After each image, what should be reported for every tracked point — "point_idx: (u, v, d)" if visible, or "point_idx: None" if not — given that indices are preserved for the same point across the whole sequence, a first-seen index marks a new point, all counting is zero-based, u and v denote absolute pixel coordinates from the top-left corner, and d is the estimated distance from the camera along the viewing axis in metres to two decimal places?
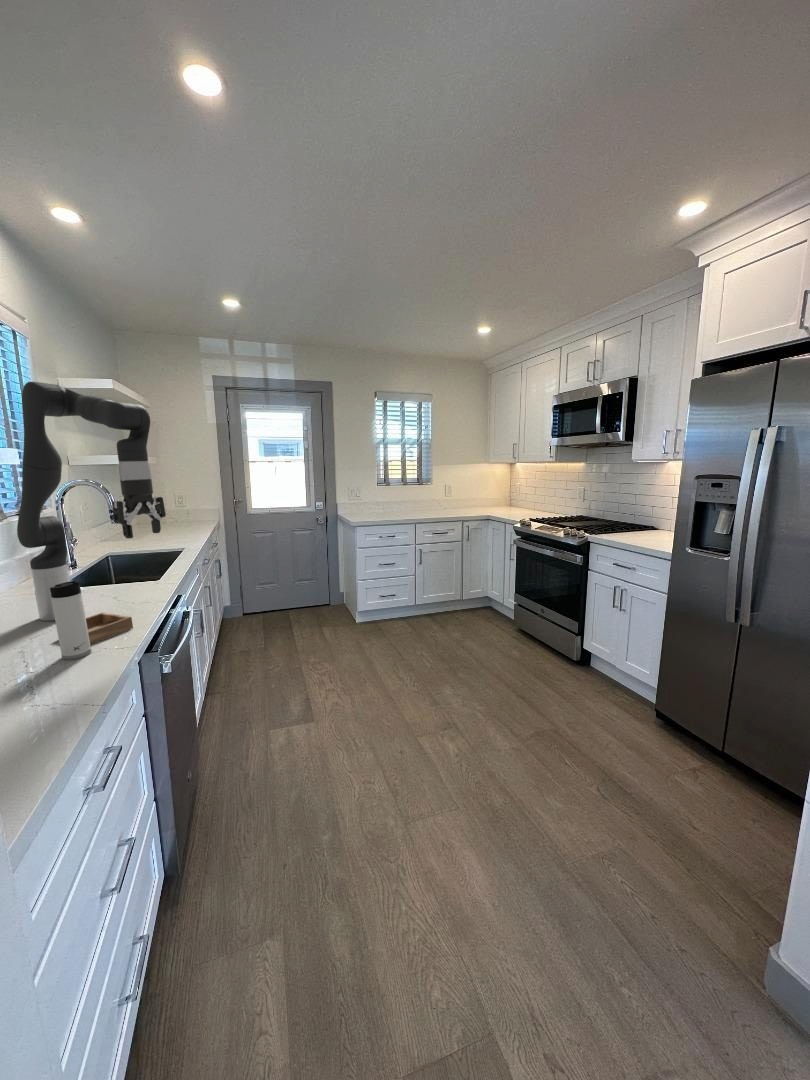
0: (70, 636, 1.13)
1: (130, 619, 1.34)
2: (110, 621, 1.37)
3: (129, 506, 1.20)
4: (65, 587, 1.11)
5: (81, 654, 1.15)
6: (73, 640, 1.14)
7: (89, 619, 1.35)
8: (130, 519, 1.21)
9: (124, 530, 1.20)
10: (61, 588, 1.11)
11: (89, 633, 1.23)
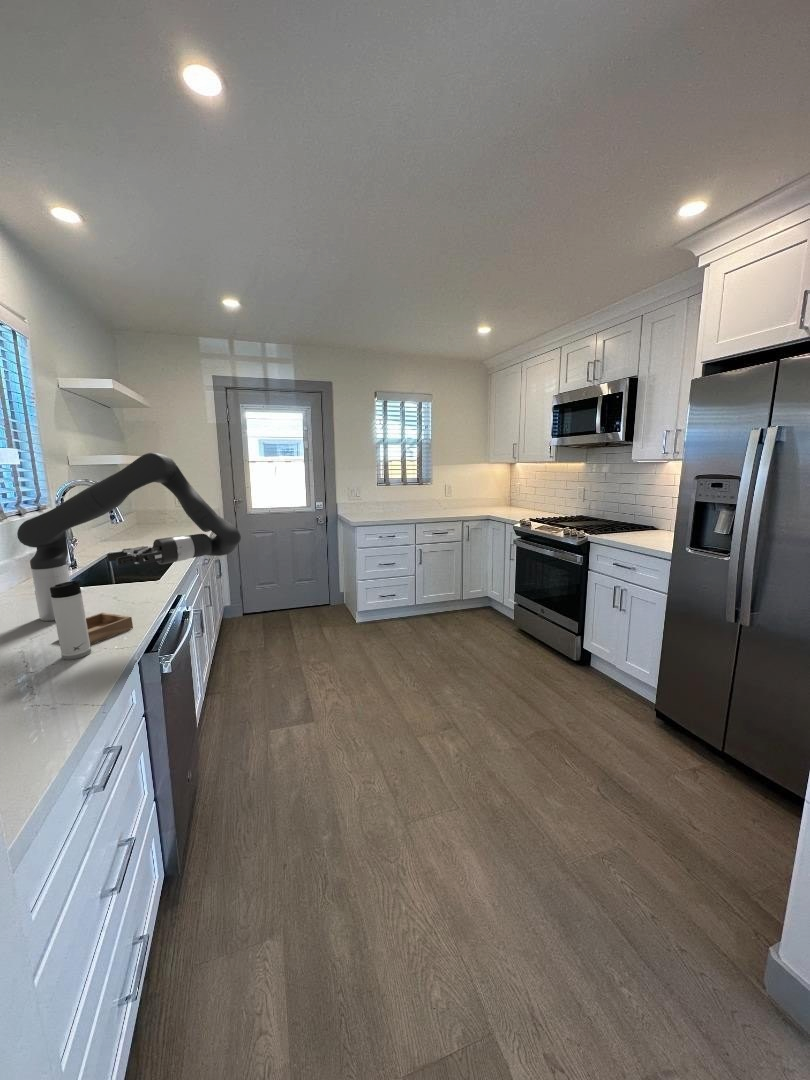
0: (70, 636, 1.13)
1: (130, 619, 1.34)
2: (110, 621, 1.37)
3: None
4: (65, 587, 1.11)
5: (81, 654, 1.15)
6: (73, 640, 1.14)
7: (89, 619, 1.35)
8: None
9: (128, 560, 1.19)
10: (61, 588, 1.11)
11: (89, 633, 1.23)
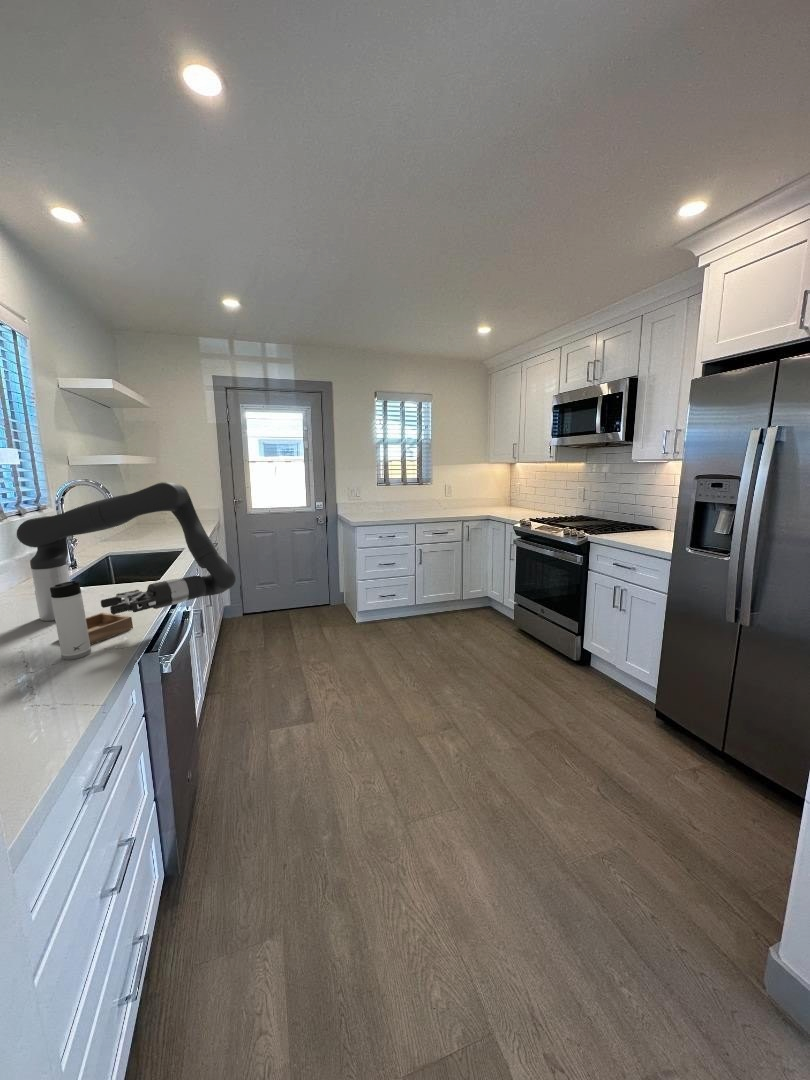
0: (70, 636, 1.13)
1: (130, 619, 1.34)
2: (110, 621, 1.37)
3: None
4: (65, 587, 1.11)
5: (81, 654, 1.15)
6: (73, 640, 1.14)
7: (89, 619, 1.35)
8: None
9: (121, 608, 1.19)
10: (61, 588, 1.11)
11: (89, 633, 1.23)
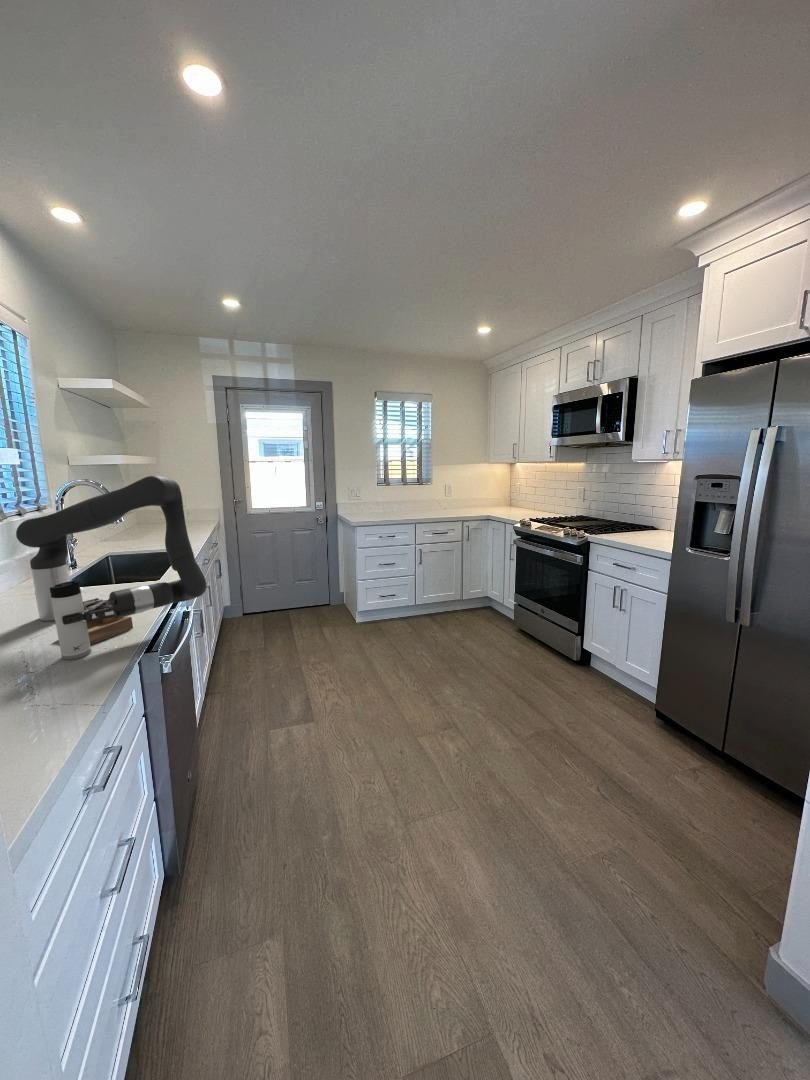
0: (70, 636, 1.13)
1: (130, 619, 1.34)
2: (110, 621, 1.37)
3: None
4: (65, 587, 1.11)
5: (81, 654, 1.15)
6: (73, 640, 1.14)
7: None
8: None
9: (74, 618, 1.12)
10: (61, 588, 1.11)
11: (89, 633, 1.23)
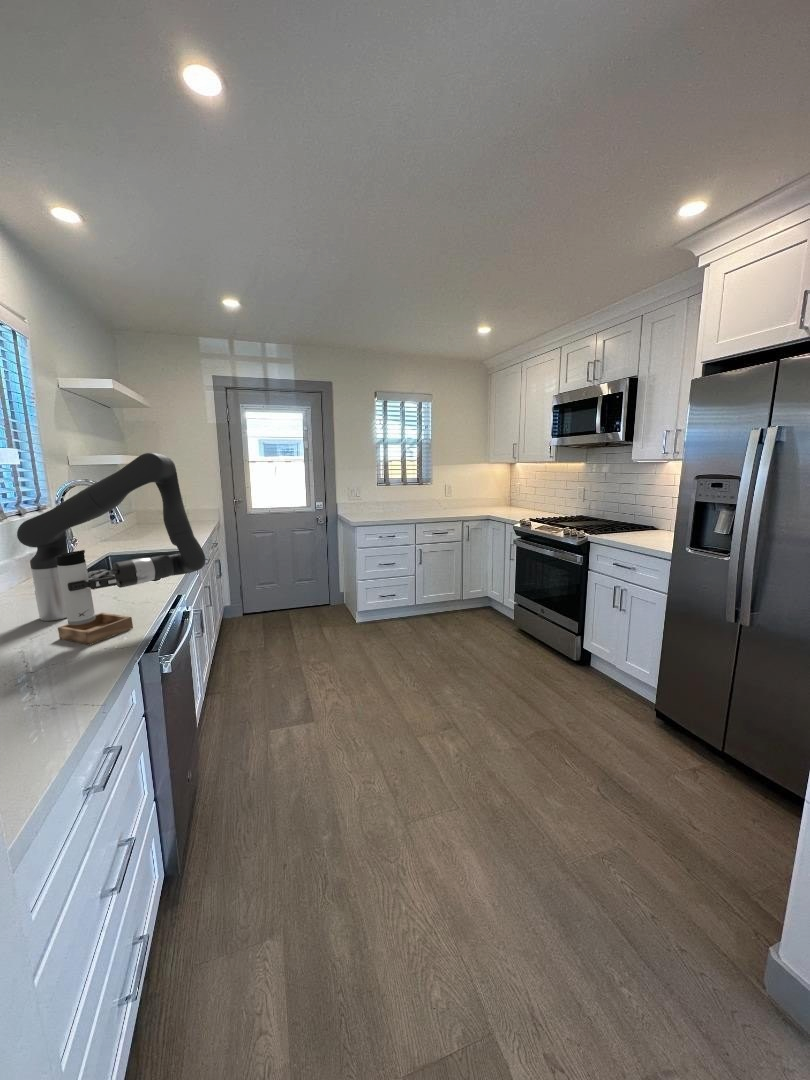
0: (76, 603, 1.19)
1: (130, 619, 1.34)
2: (110, 621, 1.37)
3: (107, 582, 1.24)
4: (70, 556, 1.17)
5: (86, 620, 1.21)
6: (78, 606, 1.20)
7: None
8: None
9: (79, 585, 1.18)
10: (66, 556, 1.17)
11: (89, 633, 1.23)
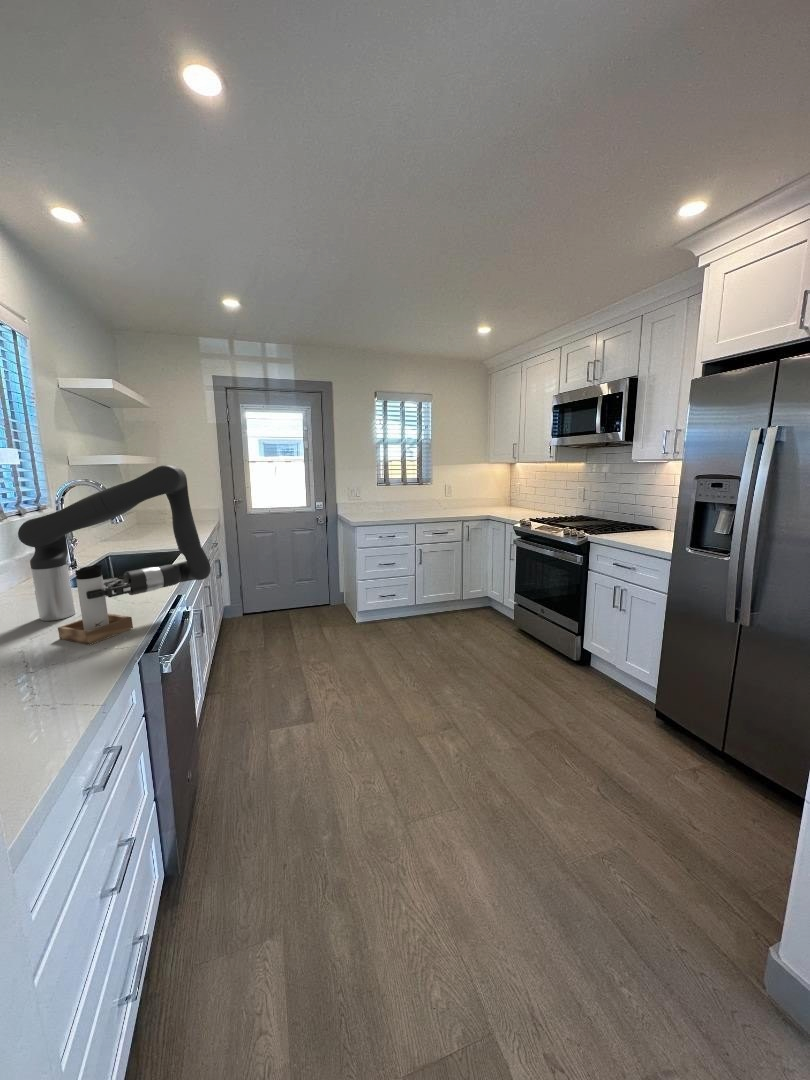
0: (92, 614, 1.28)
1: (130, 619, 1.34)
2: (110, 621, 1.37)
3: None
4: (89, 570, 1.26)
5: None
6: (95, 617, 1.28)
7: None
8: None
9: (97, 594, 1.26)
10: (85, 571, 1.26)
11: (89, 633, 1.23)
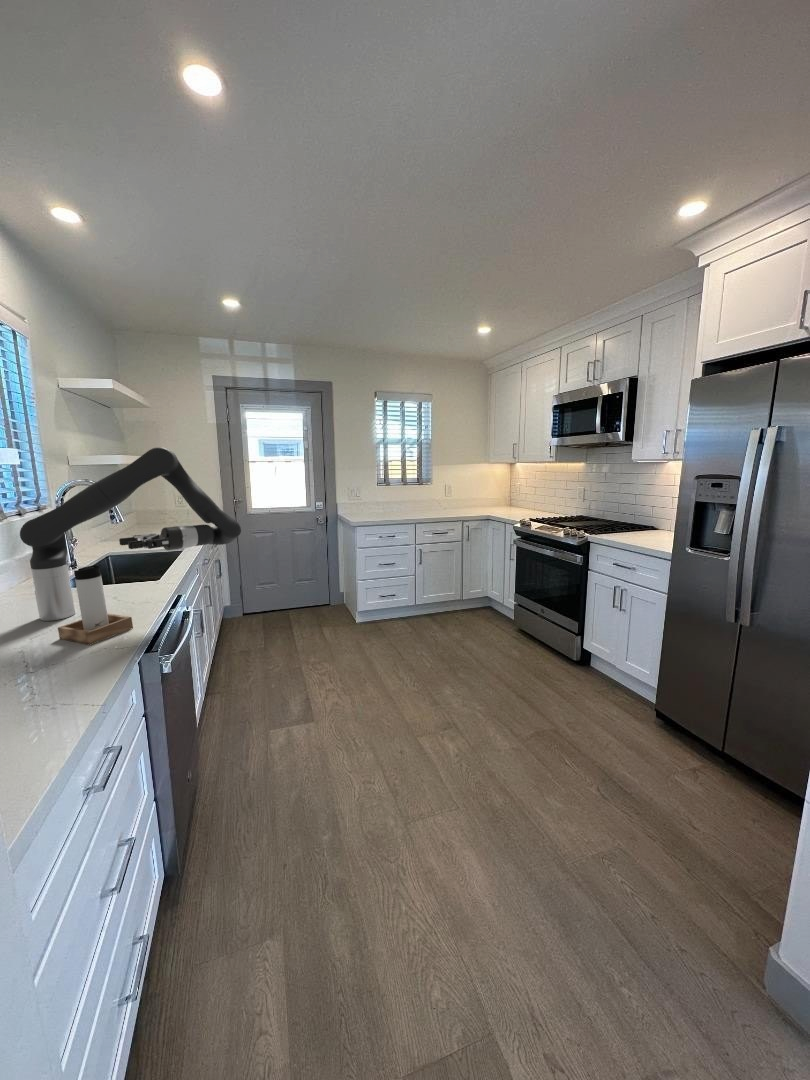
0: (92, 614, 1.28)
1: (130, 619, 1.34)
2: (110, 621, 1.37)
3: None
4: (88, 570, 1.26)
5: None
6: (94, 617, 1.28)
7: None
8: None
9: (138, 544, 1.33)
10: (84, 571, 1.25)
11: (89, 633, 1.23)
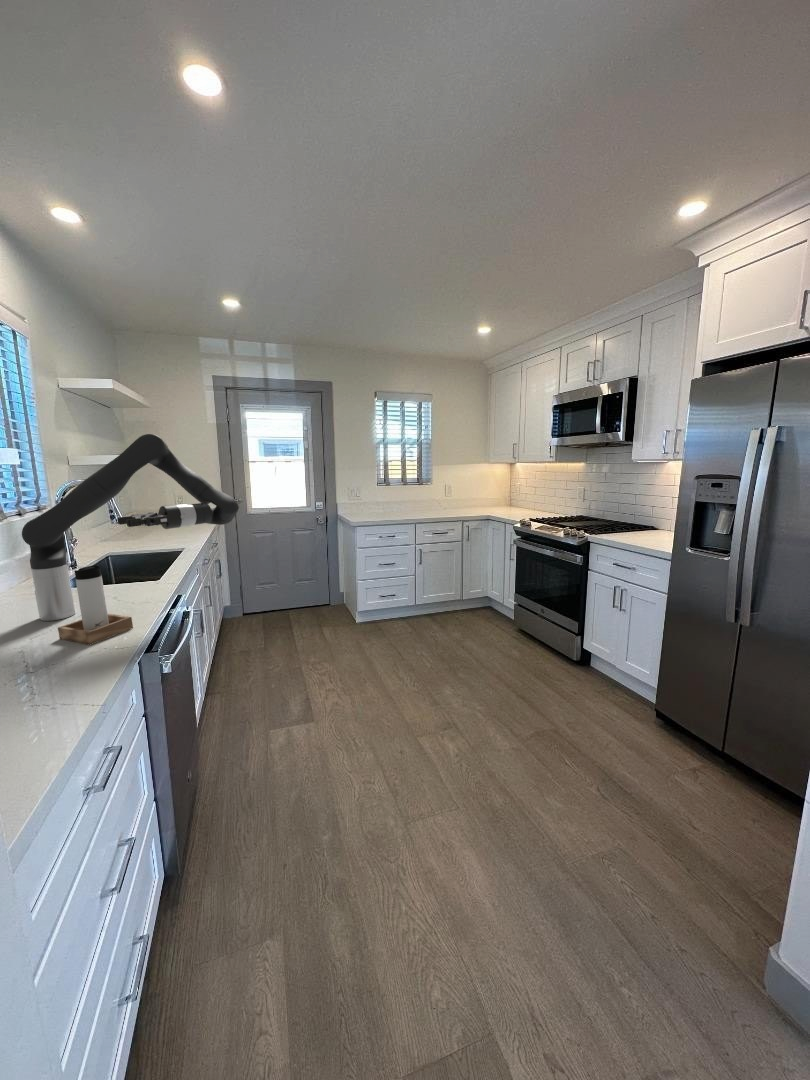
0: (92, 614, 1.28)
1: (130, 619, 1.34)
2: (110, 621, 1.37)
3: None
4: (88, 570, 1.26)
5: None
6: (94, 617, 1.28)
7: None
8: None
9: (136, 522, 1.32)
10: (85, 571, 1.25)
11: (89, 633, 1.23)
